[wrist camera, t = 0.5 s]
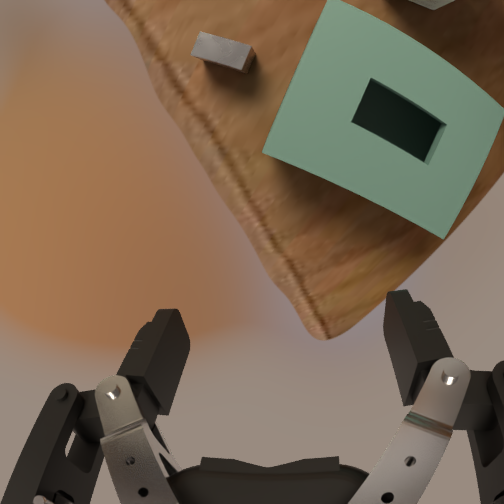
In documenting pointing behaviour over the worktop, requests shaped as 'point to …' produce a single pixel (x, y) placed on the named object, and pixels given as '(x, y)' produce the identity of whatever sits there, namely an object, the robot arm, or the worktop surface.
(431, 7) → the supplement box
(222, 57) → the block
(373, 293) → the worktop surface
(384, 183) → the money box
